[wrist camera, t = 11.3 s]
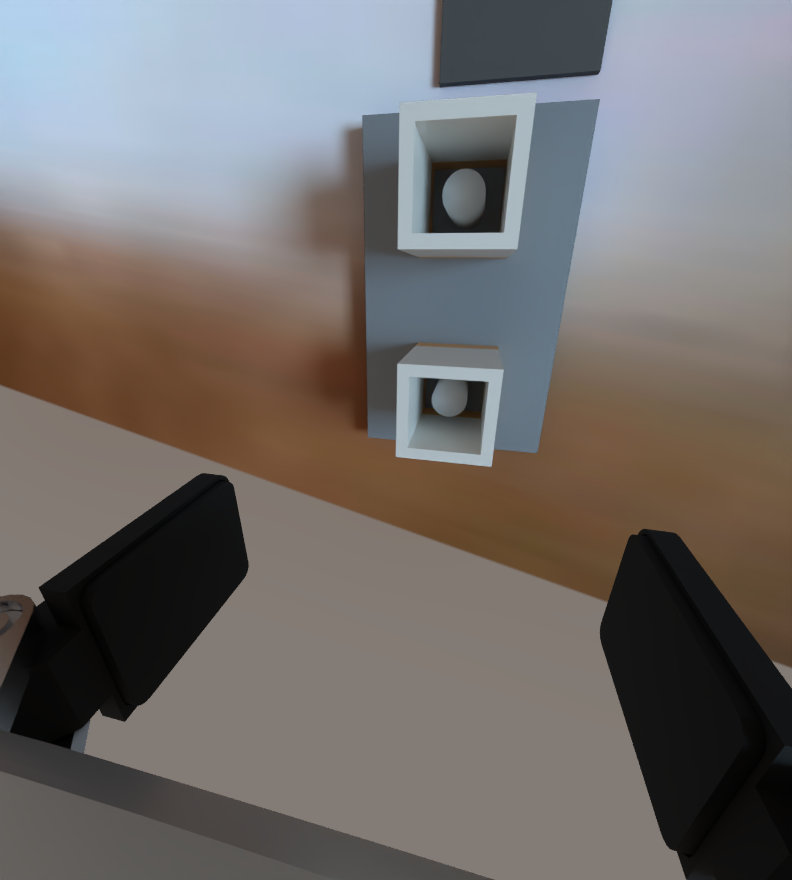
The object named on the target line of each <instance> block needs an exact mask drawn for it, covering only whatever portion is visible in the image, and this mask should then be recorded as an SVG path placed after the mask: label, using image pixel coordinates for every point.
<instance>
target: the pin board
mask: <svg viewBox="0 0 792 880" xmlns="http://www.w3.org/2000/svg"><path fill="white" fill-rule="evenodd" d="M599 101H600V99H595V100H580V101H566V102H551V103H537V104H535V112H534V120H533V128H532V136H531V144H530V152H529V160H528V168H527V176H526V184H525V192H524V200H523V208H522V216H521V224H520V232H519V240H518V248H517V250H516V251H515V252H514V253H513V254H511V255H510V256H509V257H508V258H419V257H417V256H414V255H411V254H409V253H406V252H403V251H401V250H398V182H399V113H391V114H377V115H362V117H363V175H364V233H365V291H366V349H367V407H368V437H372V438H382V439H393V440H396V417H397V364H398V363H399V362H400V361H401V360H402V359H403V358H404V357H405V356H406V355H407V354H408V353H409V352H410V351H411V350H412V349H413V348H414V347H415V346H416V345H417V344H418V343H419V342H421V343H442V344H464V345H485V346H498V349H499V353H500V357H501V361H502V365H503V369H504V372H503V380H502V387H501V395H500V403H499V411H498V419H497V427H496V434H495V442H494V449H499V450H510V451H520V452H531V453H537V451H538V446H539V440H540V435H541V429H542V423H543V418H544V412H545V406H546V401H547V395H548V389H549V384H550V378H551V372H552V367H553V361H554V355H555V350H556V344H557V338H558V333H559V327H560V321H561V316H562V310H563V304H564V299H565V293H566V287H567V282H568V276H569V271H570V265H571V259H572V254H573V248H574V242H575V237H576V231H577V225H578V220H579V214H580V208H581V203H582V197H583V191H584V186H585V180H586V174H587V169H588V163H589V157H590V152H591V146H592V140H593V135H594V129H595V123H596V118H597V112H598V106H599ZM505 171H506V167H492V168H465V169H442V170H435V180H434V202H433V224H432V233H499V228H500V219H501V209H502V200H503V190H504V181H505ZM483 388H484V381H470V380H454V379H438V378H426V399H425V408H434V409H435V410H436V411H437V412H438V413H439V414H441V415H443V416H446V417H453V416H456V415H458V414H460V413H461V412H462V411H463V410H464V411H477V412H481V406H482V397H483Z"/></svg>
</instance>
